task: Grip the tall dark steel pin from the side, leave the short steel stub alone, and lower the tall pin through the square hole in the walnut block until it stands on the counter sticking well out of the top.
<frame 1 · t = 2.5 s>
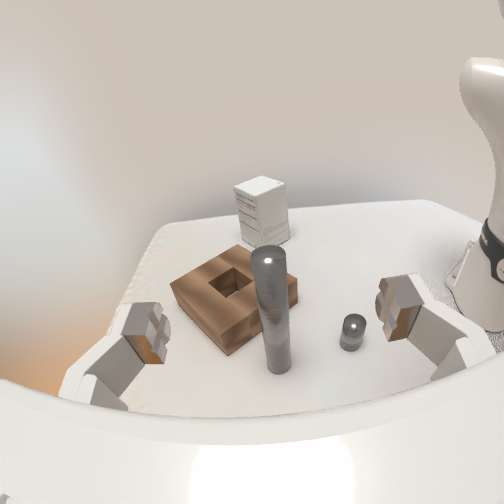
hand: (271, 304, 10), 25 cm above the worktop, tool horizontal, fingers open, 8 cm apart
short pin: (350, 342, 35), on the worktop
collar block: (235, 304, 44), on the worktop
supplement box: (265, 240, 58), on the worktop
long pin: (279, 364, 34), on the worktop
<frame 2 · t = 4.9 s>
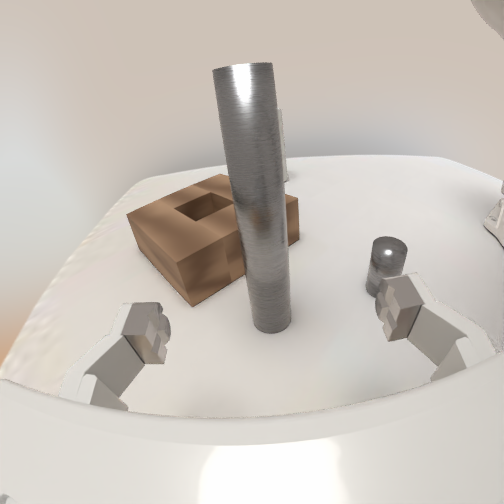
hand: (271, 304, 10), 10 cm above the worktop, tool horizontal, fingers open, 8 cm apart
short pin: (381, 287, 23), on the worktop
collar block: (212, 243, 32), on the worktop
long pin: (272, 318, 22), on the worktop
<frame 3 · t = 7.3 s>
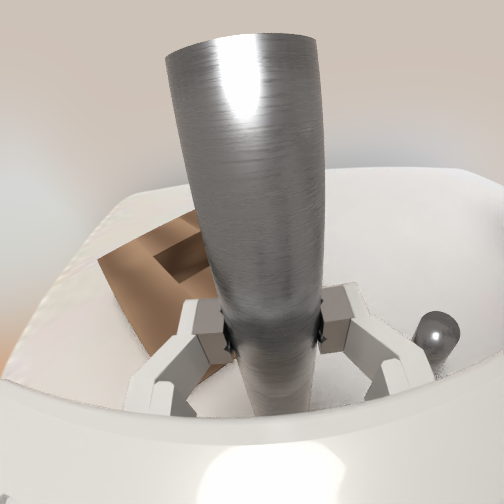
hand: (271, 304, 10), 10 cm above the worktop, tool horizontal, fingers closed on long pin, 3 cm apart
short pin: (417, 367, 16), on the worktop
collar block: (204, 298, 25), on the worktop
long pin: (282, 420, 15), on the worktop, touching gripper
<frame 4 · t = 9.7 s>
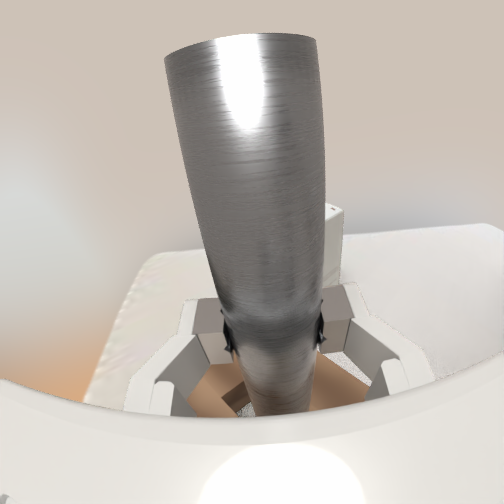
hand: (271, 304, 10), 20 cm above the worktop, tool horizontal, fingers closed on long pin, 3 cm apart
collar block: (266, 417, 24), on the worktop
supplement box: (302, 291, 38), on the worktop
long pin: (283, 420, 15), point 10 cm above the worktop, touching gripper
when the fingers open (12 cm above the worktop, at t = 12.5 s): long pin drops 1 cm, resting in collar block.
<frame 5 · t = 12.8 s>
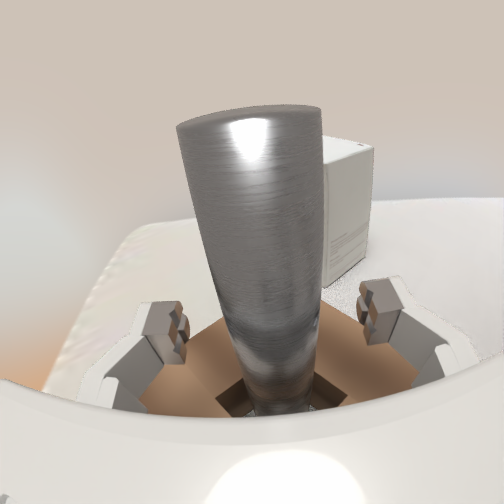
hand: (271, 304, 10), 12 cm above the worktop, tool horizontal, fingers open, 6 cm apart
collar block: (283, 426, 16), on the worktop
supplement box: (321, 259, 30), on the worktop
long pin: (283, 426, 16), resting in collar block
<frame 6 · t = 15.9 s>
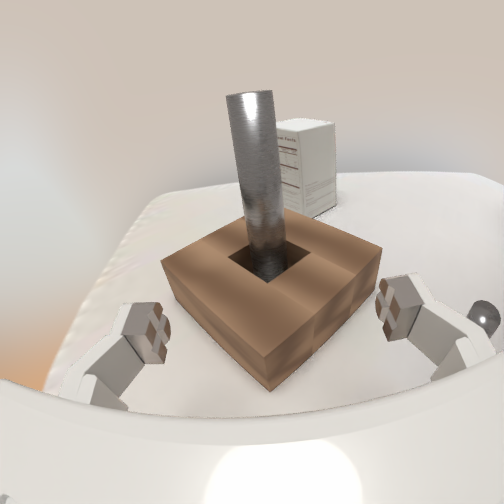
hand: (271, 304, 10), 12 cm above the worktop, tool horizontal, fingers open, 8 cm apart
short pin: (464, 348, 17), on the worktop
collar block: (273, 297, 26), on the worktop
supplement box: (302, 207, 40), on the worktop
long pin: (273, 297, 26), resting in collar block
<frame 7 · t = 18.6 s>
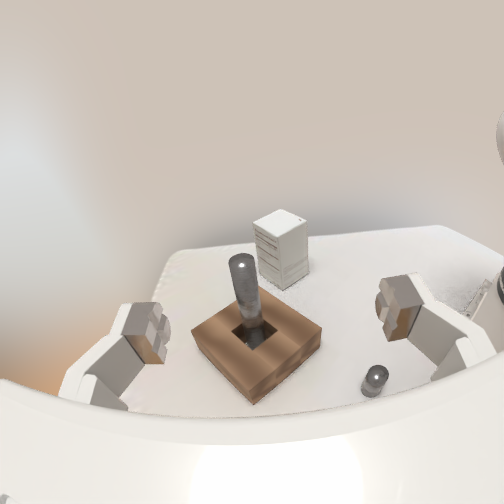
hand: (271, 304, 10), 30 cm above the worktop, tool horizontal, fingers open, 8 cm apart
short pin: (370, 388, 33), on the worktop
collar block: (257, 349, 42), on the worktop
supplement box: (283, 275, 57), on the worktop
long pin: (258, 349, 42), resting in collar block
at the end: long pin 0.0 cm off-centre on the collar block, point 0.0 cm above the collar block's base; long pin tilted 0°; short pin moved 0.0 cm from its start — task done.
